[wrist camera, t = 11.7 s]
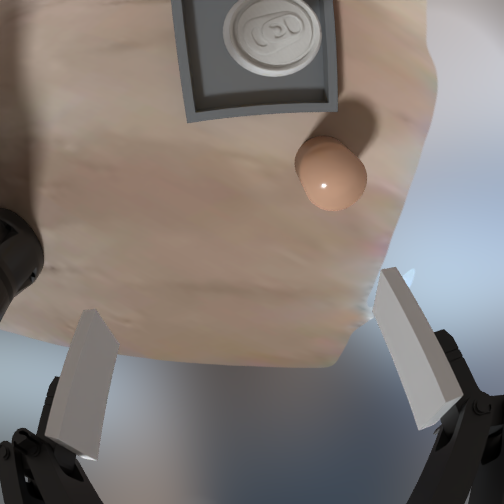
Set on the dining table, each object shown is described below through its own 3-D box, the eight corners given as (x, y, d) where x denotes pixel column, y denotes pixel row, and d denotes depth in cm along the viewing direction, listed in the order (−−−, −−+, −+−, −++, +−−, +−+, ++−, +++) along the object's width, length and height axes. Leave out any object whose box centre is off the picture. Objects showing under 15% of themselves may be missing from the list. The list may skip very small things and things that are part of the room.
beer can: (217, 32, 24) (203, 10, 12) (270, 9, 23) (300, -26, 11) (243, 78, 28) (250, 93, 16) (295, 56, 26) (342, 58, 15)
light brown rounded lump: (295, 189, 37) (304, 213, 32) (293, 136, 33) (304, 152, 28) (347, 186, 37) (363, 208, 32) (350, 135, 33) (369, 150, 28)
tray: (190, 118, 31) (187, 123, 29) (174, -10, 21) (169, -15, 19) (330, 107, 31) (337, 111, 29) (323, -19, 21) (330, -24, 19)
